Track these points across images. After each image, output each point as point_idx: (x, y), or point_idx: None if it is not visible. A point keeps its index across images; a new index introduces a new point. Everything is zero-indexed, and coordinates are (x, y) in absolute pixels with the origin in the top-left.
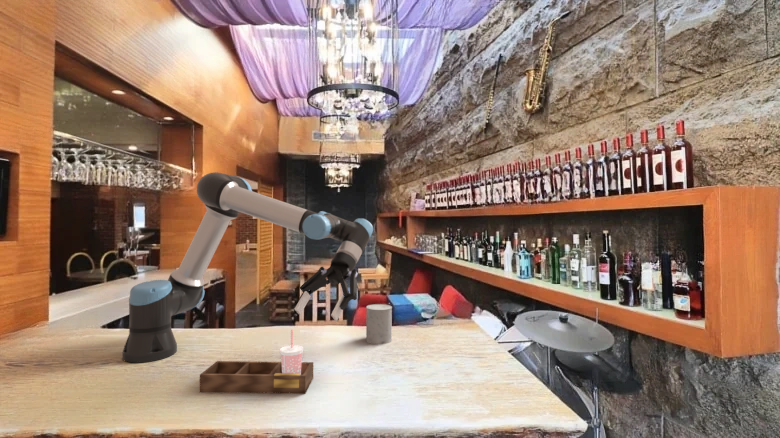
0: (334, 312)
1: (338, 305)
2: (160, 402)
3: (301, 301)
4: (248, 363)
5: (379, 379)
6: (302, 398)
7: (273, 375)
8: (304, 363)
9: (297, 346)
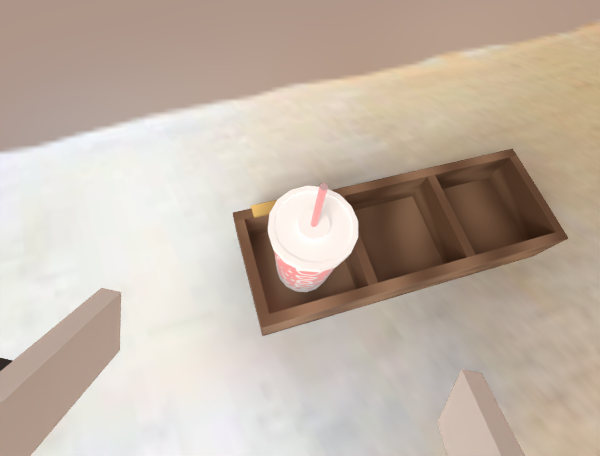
0: (85, 302)
1: (29, 349)
2: (513, 122)
3: (491, 447)
4: (464, 248)
5: None
6: (232, 210)
7: None
8: (288, 308)
9: (309, 260)
